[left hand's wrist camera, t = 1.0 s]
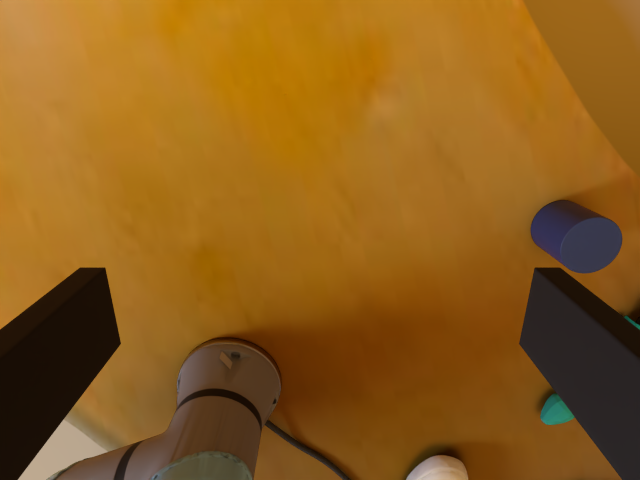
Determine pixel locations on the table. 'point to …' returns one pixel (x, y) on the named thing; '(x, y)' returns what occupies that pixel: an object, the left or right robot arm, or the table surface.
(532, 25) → the table surface
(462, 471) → the sneaker
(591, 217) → the cylinder
